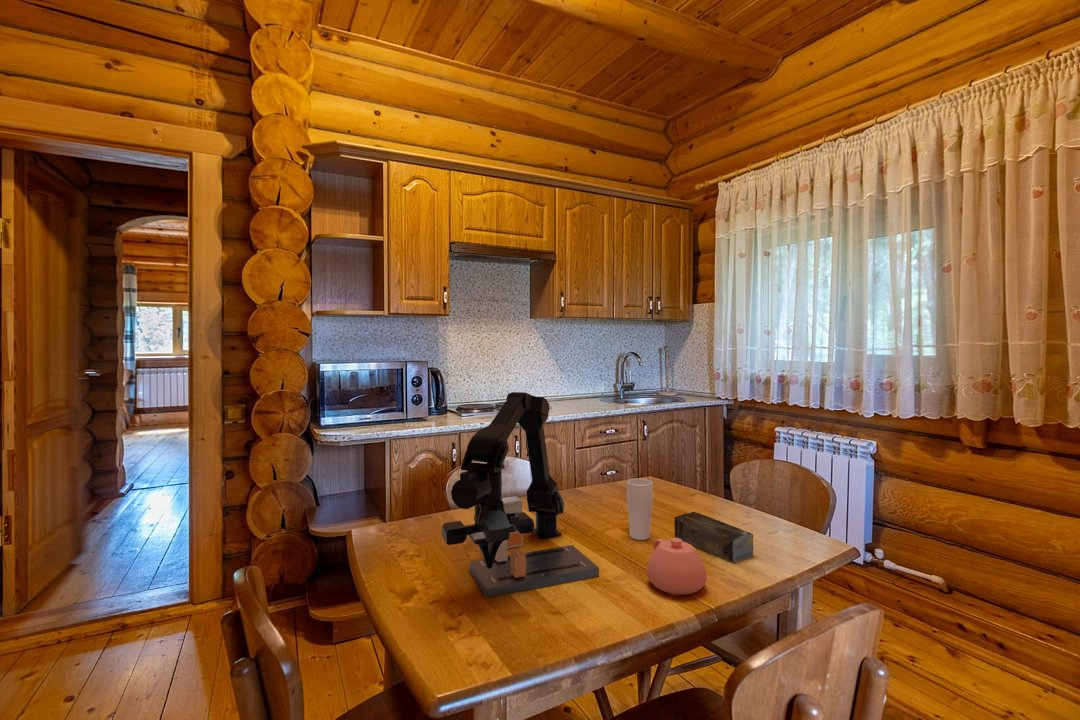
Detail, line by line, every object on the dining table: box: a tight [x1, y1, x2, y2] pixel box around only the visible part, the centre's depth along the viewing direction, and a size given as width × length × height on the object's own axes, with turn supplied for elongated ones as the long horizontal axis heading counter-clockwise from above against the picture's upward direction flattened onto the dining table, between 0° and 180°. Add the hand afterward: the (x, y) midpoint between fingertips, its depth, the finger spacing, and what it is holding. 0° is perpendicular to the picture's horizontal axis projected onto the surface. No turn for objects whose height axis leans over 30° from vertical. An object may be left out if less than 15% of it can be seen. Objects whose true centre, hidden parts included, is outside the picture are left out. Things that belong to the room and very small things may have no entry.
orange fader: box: [509, 549, 526, 578], centre depth 112 cm, size 3×2×5 cm
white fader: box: [495, 540, 508, 562], centre depth 120 cm, size 3×2×5 cm
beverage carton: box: [674, 511, 755, 564], centre depth 133 cm, size 8×19×7 cm, turn 31°
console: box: [468, 544, 600, 599], centre depth 118 cm, size 14×26×2 cm, turn 112°
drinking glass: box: [626, 478, 654, 541], centre depth 139 cm, size 7×7×15 cm
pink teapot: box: [646, 537, 707, 597], centre depth 112 cm, size 12×14×10 cm
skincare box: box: [502, 495, 523, 550], centre depth 134 cm, size 6×4×12 cm
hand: (489, 567), depth 110 cm, fingers closed
